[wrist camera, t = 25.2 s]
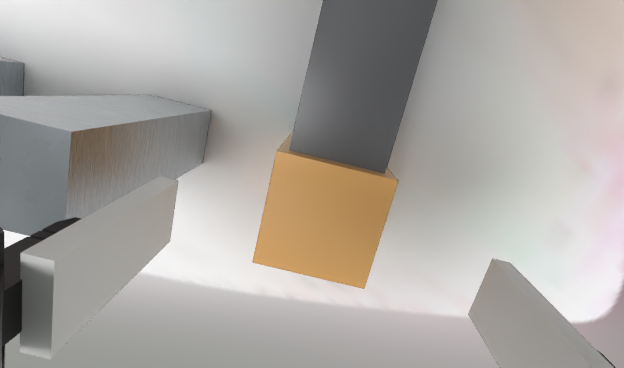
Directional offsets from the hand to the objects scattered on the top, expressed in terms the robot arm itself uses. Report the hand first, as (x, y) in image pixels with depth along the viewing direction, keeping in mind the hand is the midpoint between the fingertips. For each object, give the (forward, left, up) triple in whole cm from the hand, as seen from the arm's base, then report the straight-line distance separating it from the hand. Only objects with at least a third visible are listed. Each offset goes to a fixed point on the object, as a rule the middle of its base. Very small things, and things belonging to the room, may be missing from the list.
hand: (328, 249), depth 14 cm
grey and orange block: (0, -7, -12) cm, 14 cm away
